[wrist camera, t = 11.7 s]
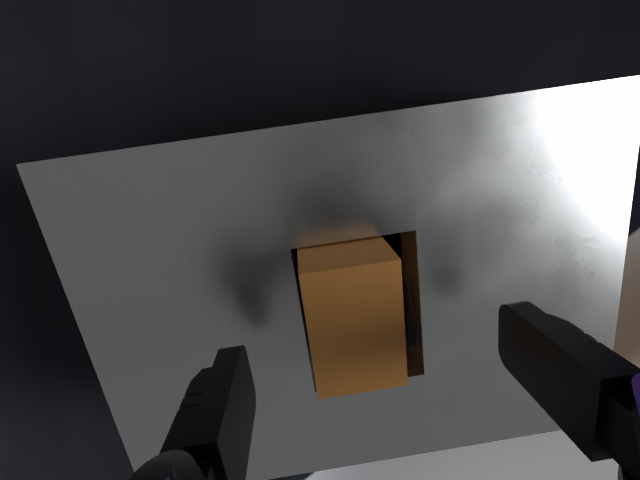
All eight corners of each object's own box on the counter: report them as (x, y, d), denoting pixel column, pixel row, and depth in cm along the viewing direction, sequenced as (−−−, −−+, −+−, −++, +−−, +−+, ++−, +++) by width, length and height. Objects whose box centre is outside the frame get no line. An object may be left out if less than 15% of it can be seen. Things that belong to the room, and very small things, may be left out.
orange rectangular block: (347, 195, 19) (401, 259, 10) (354, 268, 21) (408, 385, 11) (294, 202, 19) (298, 274, 10) (305, 275, 21) (318, 399, 11)
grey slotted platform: (503, 100, 19) (648, 73, 11) (500, 326, 23) (604, 422, 15) (133, 153, 18) (16, 164, 11) (197, 375, 22) (145, 500, 15)
